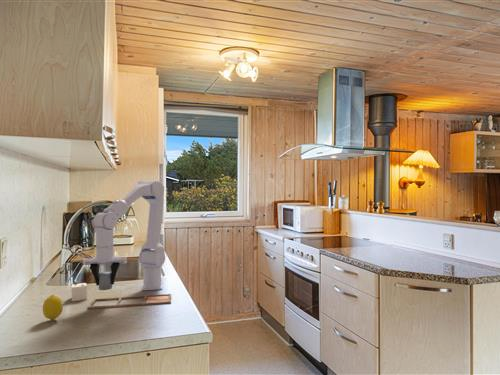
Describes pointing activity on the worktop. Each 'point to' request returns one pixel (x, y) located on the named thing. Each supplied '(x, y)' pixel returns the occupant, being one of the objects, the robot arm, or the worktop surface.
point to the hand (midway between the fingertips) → (105, 284)
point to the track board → (150, 301)
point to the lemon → (52, 307)
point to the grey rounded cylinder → (105, 281)
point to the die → (79, 291)
